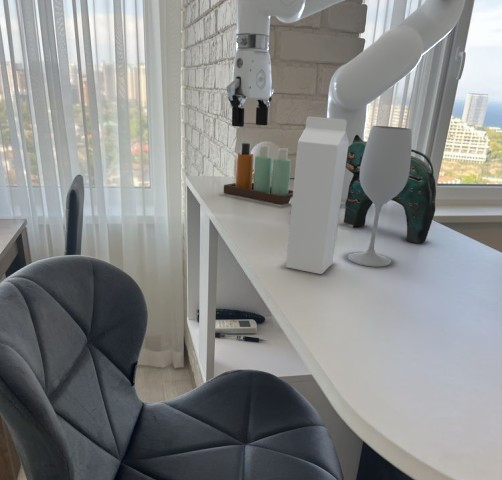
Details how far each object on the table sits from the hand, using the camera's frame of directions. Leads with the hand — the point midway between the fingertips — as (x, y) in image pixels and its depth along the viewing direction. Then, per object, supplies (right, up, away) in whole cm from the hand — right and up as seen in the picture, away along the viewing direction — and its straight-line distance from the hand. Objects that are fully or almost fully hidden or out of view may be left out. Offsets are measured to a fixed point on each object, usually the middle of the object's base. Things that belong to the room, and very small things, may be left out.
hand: (250, 125), depth 123 cm
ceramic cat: (+27, -30, -19) cm, 45 cm away
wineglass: (+20, -38, -37) cm, 57 cm away
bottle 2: (+7, -18, +2) cm, 19 cm away
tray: (+3, -17, +5) cm, 18 cm away
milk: (+10, -40, -42) cm, 59 cm away
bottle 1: (+3, -16, +4) cm, 17 cm away
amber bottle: (-2, -14, +7) cm, 16 cm away
